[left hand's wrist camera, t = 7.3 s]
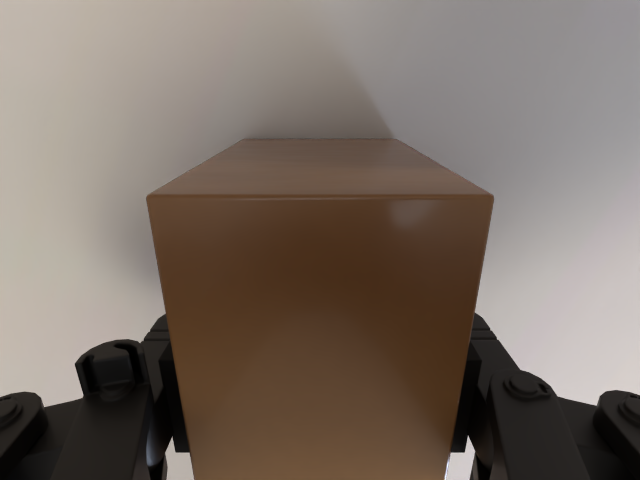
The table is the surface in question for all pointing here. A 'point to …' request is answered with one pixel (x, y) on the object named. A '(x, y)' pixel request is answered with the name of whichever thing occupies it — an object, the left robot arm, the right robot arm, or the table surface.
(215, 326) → the bar
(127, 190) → the table surface
